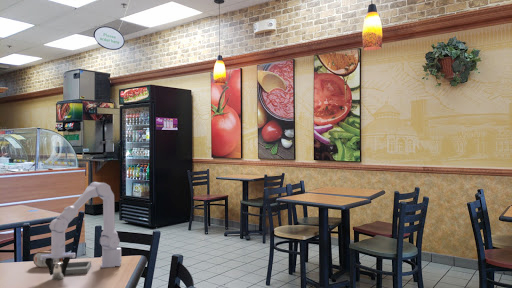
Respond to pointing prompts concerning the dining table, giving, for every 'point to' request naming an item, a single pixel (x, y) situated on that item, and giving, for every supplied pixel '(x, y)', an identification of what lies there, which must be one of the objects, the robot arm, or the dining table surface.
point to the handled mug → (57, 270)
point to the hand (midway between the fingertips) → (58, 273)
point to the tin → (42, 262)
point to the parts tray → (78, 268)
